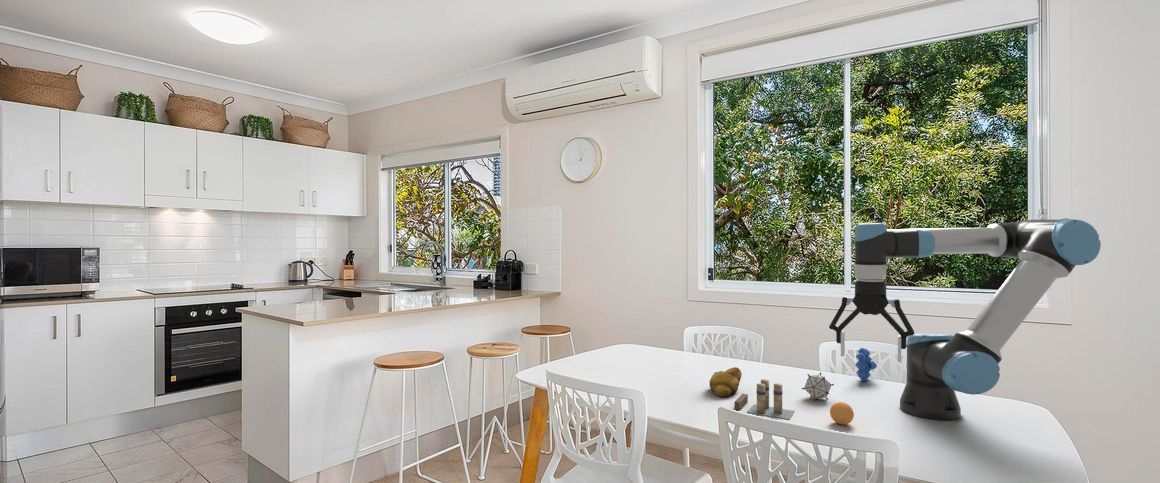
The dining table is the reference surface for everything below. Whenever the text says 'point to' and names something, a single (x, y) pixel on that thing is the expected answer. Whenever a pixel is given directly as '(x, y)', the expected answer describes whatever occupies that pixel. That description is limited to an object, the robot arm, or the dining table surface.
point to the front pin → (778, 398)
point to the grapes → (864, 364)
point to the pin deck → (772, 412)
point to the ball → (841, 413)
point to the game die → (817, 386)
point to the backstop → (741, 402)
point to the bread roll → (725, 381)
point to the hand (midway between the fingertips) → (870, 358)
